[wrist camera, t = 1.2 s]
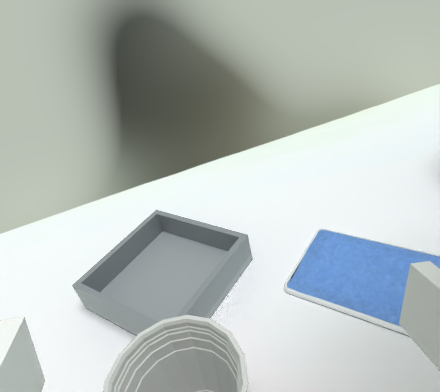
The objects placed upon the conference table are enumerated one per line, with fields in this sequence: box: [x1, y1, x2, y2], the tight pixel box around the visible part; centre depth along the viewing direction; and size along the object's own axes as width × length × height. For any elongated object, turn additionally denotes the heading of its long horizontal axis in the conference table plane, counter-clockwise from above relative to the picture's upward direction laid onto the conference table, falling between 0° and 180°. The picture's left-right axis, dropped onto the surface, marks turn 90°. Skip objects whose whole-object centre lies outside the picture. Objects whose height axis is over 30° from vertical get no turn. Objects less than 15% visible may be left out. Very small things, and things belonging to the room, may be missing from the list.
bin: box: [72, 210, 252, 336], centre depth 48 cm, size 17×17×4 cm
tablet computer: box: [284, 229, 440, 336], centre depth 44 cm, size 19×13×1 cm, turn 56°
